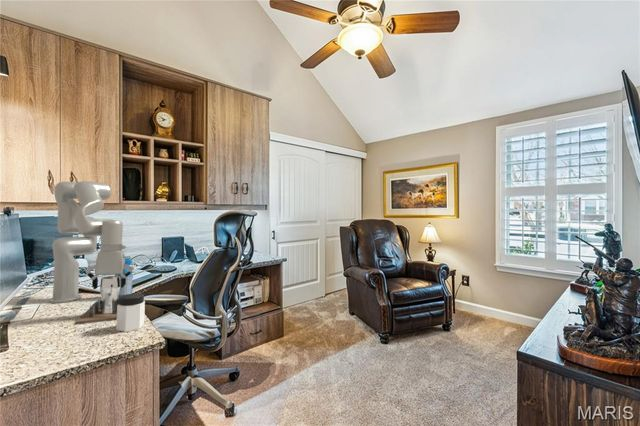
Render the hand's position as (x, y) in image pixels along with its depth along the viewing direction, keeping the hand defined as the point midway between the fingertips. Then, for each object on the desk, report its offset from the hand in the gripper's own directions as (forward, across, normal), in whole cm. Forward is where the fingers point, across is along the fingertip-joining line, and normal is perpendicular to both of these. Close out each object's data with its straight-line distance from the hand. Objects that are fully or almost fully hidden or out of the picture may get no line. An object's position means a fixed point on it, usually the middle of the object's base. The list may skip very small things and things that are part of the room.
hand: (109, 287), depth 123 cm
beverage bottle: (+12, 0, -29) cm, 32 cm away
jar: (+11, -12, +22) cm, 27 cm away
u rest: (+12, 0, 0) cm, 12 cm away
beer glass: (+11, 0, 0) cm, 11 cm away
